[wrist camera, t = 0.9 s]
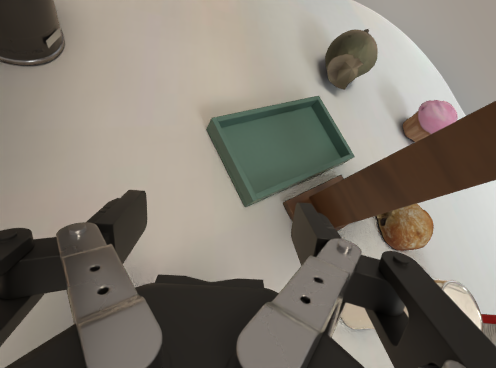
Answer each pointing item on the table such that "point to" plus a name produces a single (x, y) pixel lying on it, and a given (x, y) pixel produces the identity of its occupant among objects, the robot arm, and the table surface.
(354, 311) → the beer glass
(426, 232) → the bread roll
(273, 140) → the tray
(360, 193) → the stand
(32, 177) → the table surface
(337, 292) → the robot arm
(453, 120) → the cupcake
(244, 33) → the table surface
